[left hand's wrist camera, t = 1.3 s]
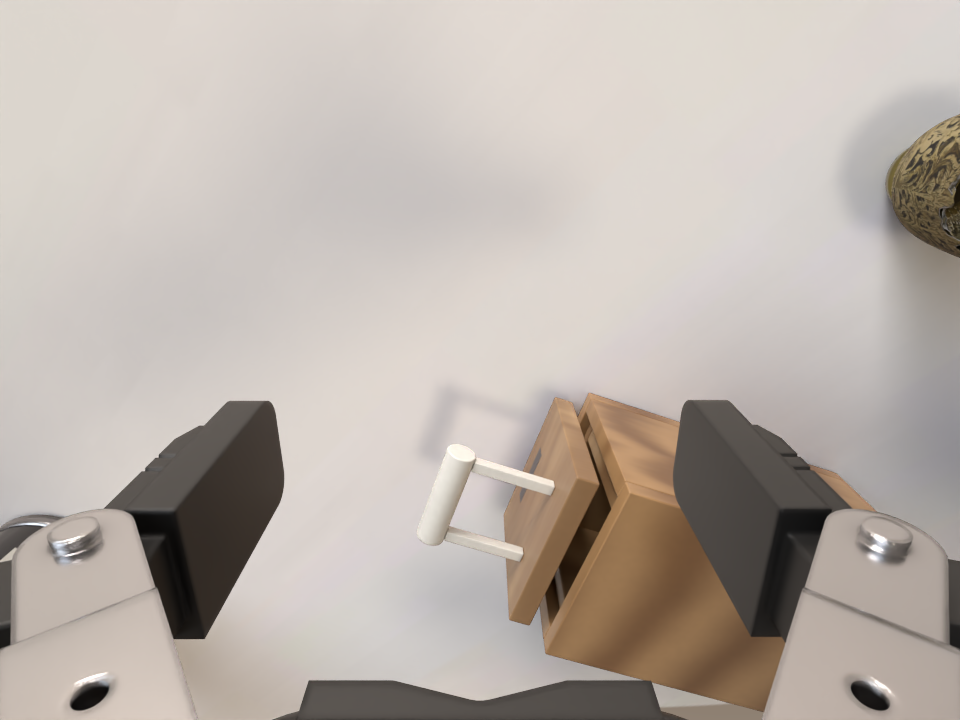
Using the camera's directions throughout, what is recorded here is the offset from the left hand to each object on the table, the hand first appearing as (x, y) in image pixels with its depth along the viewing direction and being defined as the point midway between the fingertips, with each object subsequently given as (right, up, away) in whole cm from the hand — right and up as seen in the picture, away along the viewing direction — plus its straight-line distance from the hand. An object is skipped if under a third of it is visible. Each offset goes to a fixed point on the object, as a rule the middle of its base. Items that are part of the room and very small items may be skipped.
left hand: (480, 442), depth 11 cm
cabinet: (+14, -8, +28) cm, 32 cm away
